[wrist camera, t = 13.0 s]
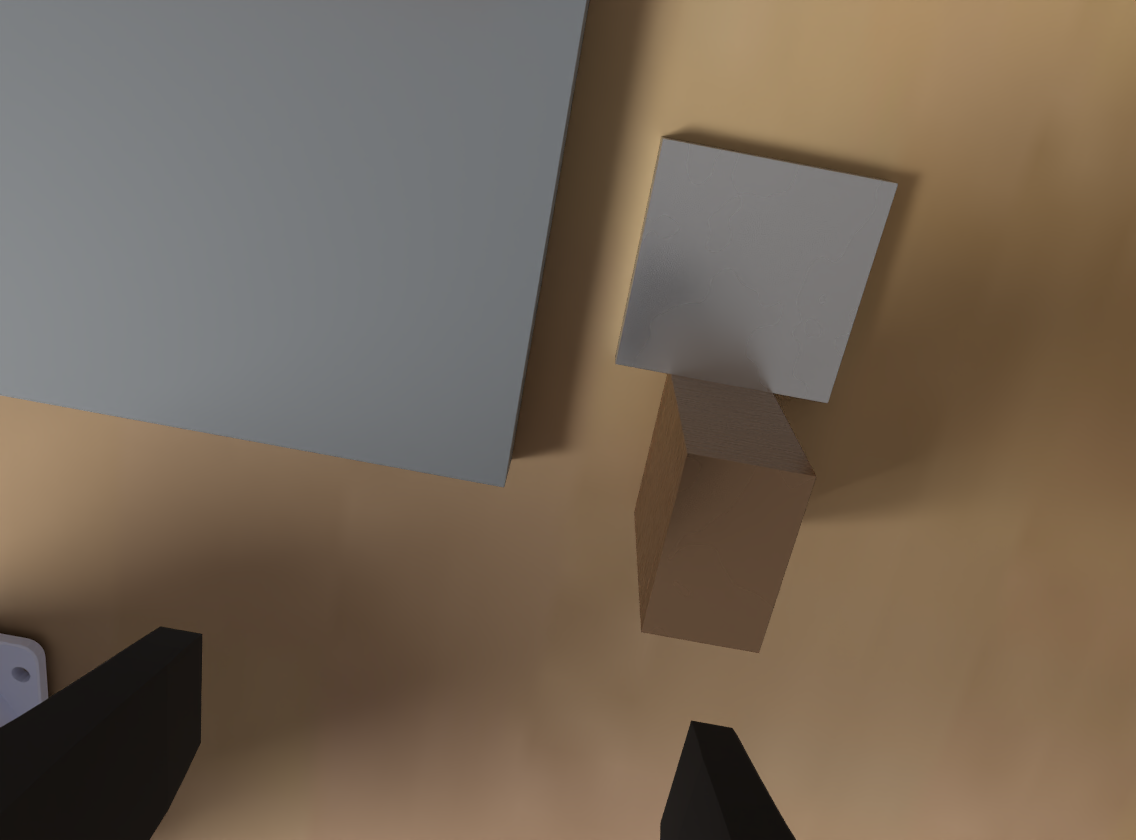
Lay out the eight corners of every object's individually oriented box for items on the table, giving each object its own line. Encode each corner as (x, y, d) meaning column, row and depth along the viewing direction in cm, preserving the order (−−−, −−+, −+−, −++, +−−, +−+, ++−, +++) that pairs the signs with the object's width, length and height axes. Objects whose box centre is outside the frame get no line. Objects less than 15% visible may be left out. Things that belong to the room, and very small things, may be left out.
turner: (776, 537, 21) (821, 664, 17) (584, 503, 21) (577, 620, 17) (889, 180, 18) (985, 215, 13) (661, 136, 18) (680, 156, 13)
